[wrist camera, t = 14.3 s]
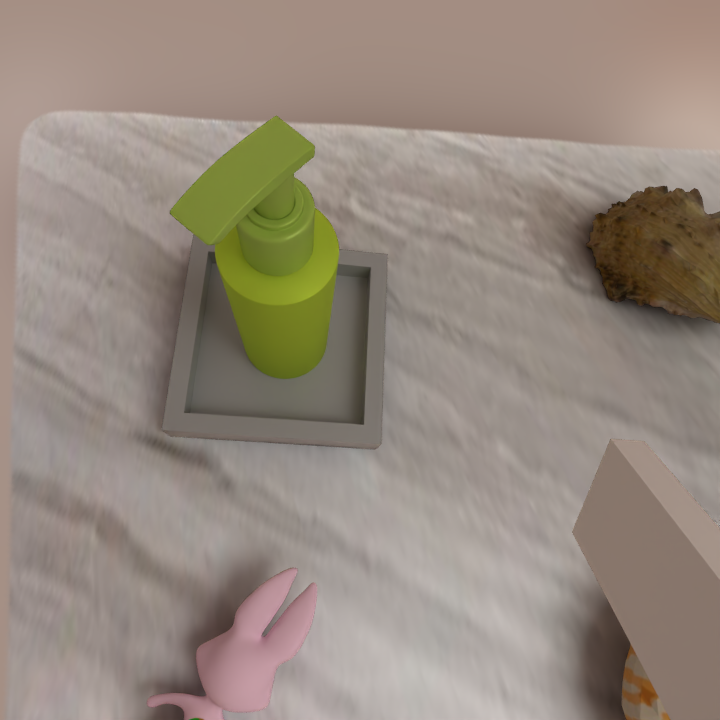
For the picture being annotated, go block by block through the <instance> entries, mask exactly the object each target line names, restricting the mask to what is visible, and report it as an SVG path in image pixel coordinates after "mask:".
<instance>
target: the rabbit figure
mask: <svg viewBox="0 0 720 720" xmlns="http://www.w3.org/2000/svg"><path fill="white" fill-rule="evenodd" d="M297 571H298V569H297V568H290V569H287V570H285V571H282V572H281V573H279V574H277V575H275V576H273V577H272V578H270V579H269V580H267V581H266V582H264V583H263V584H261V585H260V586H259V587H258V588H257V589H256V590H255V591H254V592H253V593H251V594H250V595H249V596H248V597H247V598H246V599H245V600H244V601H243V602H242V604H241V605H240V606H239V608H238V610H237V611H236V614H235V619H234V624H233V626H232V628H231V629H229V630H228V631H227V632H225V633H223V634H221V635H219V636H217V637H215V638H213V639H211V640H210V641H208V642H205V643H203V644H202V645H200V646H199V648H198V649H197V652H196V662H197V669H198V673H199V677H200V680H201V683H202V686H203V688H204V690H205V692H206V694H207V695H205V696H195V695H191V694H185V693H165V694H159V695H153V696H151V697H149V698H148V700H147V705H148V706H149V707H156V706H159V705H162V704H173V705H177V706H179V707H180V708H182V710H183V711H184V719H183V720H224V717H223V714H222V710H223V709H224V710H227V711H231V712H255V711H260V710H263V709H265V708H266V707H267V706H268V704H269V702H270V697H271V691H272V686H273V682H274V676H275V672H276V670H277V668H278V666H279V665H280V664H282V663H284V662H286V661H288V660H290V659H291V658H293V657H294V656H295V655H296V653H297V652H298V651H299V649H300V648H301V646H302V644H303V642H304V640H305V638H306V636H307V634H308V632H309V629H310V627H311V624H312V621H313V617H314V612H315V607H316V600H317V586H316V584H315V583H311V584H310V585H309V586H308V587H307V588H306V590H305V591H303V592H302V593H301V594H300V595H299V596H298V597H297V598H296V599H295V600H294V601H293V602H292V603H291V604H290V605H289V607H288V608H287V609H286V610H285V611H284V613H283V614H282V615H281V617H280V618H279V619H278V620H277V622H276V623H275V624H274V626H273V627H272V628H271V630H270V631H269V633H268V634H267V635H266V636H262V633H263V631H264V630H265V628H266V627H267V626H268V624H269V623H270V621H271V620H272V618H273V617H274V615H275V614H276V612H277V611H278V609H279V608H280V606H281V605H282V603H283V602H284V600H285V598H286V596H287V594H288V592H289V590H290V587H291V585H292V582H293V580H294V578H295V576H296V574H297Z"/></svg>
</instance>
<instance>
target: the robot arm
mask: <svg viewBox="0 0 720 720" xmlns="http://www.w3.org/2000/svg"><path fill="white" fill-rule="evenodd" d="M572 533H573V535H574V537H575V539H576V541H577V542H578V544H579V546H580V548H581V550H582V552H583V554H584V556H585V558H586V560H587V561H588V563H589V565H590V567H591V569H592V571H593V573H594V575H595V577H596V579H597V581H598V582H599V584H600V586H601V588H602V590H603V592H604V594H605V596H606V598H607V600H608V601H609V603H610V605H611V607H612V609H613V611H614V613H615V615H616V617H617V619H618V621H619V622H620V624H621V626H622V628H623V630H624V632H625V634H626V636H627V638H628V640H629V641H630V643H631V645H632V647H633V649H634V651H635V653H636V655H637V657H638V659H639V661H640V662H641V664H642V666H643V668H644V670H645V672H646V674H647V676H648V678H649V680H650V681H651V683H652V685H653V687H654V689H655V691H656V693H657V695H658V697H659V699H660V701H661V702H662V704H663V706H664V708H665V710H666V712H667V714H668V716H669V718H670V720H720V528H719V527H718V526H717V525H716V524H715V522H714V521H713V520H712V519H711V518H710V517H709V515H708V514H707V513H706V512H705V511H704V510H703V509H702V507H701V506H700V505H699V504H698V503H697V502H696V500H695V499H694V498H693V497H692V496H691V495H690V493H689V492H688V491H687V490H686V489H685V488H684V487H683V485H682V484H681V483H680V482H679V481H678V480H677V478H676V477H675V476H674V475H673V474H672V473H671V471H670V470H669V469H668V468H667V467H666V466H665V465H664V463H663V462H662V461H661V460H660V459H659V458H658V456H657V455H656V454H655V453H654V452H653V451H652V449H651V448H650V447H649V446H648V445H647V444H646V443H645V441H634V440H620V439H610V442H609V444H608V446H607V449H606V451H605V454H604V456H603V459H602V461H601V463H600V466H599V468H598V471H597V473H596V475H595V478H594V480H593V483H592V485H591V487H590V490H589V492H588V495H587V497H586V500H585V502H584V504H583V507H582V509H581V512H580V514H579V516H578V519H577V521H576V524H575V526H574V528H573V531H572Z"/></svg>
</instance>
